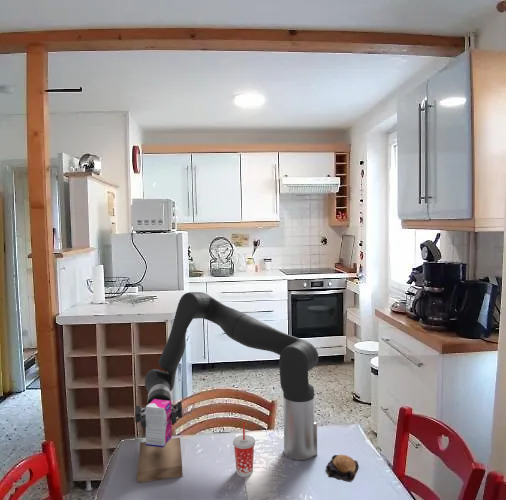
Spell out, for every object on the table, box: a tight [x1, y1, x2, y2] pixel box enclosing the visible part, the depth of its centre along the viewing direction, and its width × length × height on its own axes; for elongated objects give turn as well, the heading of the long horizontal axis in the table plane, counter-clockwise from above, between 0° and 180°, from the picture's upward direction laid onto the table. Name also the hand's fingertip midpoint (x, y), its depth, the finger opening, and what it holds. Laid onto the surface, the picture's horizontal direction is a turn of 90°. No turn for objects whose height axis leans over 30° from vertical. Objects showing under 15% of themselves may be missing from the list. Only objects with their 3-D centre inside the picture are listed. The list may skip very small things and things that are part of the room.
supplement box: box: [145, 399, 172, 448], centre depth 120 cm, size 6×6×12 cm
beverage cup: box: [232, 422, 256, 478], centre depth 115 cm, size 6×6×14 cm
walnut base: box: [136, 437, 183, 483], centre depth 121 cm, size 12×16×3 cm
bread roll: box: [325, 454, 360, 482], centre depth 116 cm, size 11×8×4 cm
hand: (158, 423), depth 118 cm, fingers closed on supplement box, 7 cm apart
